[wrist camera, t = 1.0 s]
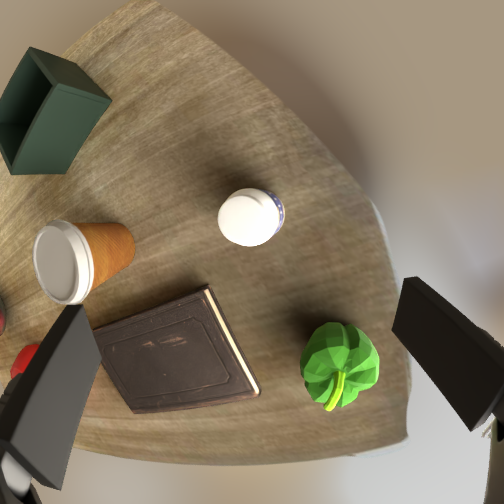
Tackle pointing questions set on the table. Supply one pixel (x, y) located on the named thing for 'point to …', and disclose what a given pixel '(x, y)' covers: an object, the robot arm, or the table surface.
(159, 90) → the table surface
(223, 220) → the pill bottle
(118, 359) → the hardcover book
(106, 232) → the disposable coffee cup
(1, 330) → the bowl
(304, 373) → the bell pepper
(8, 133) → the waste bin
